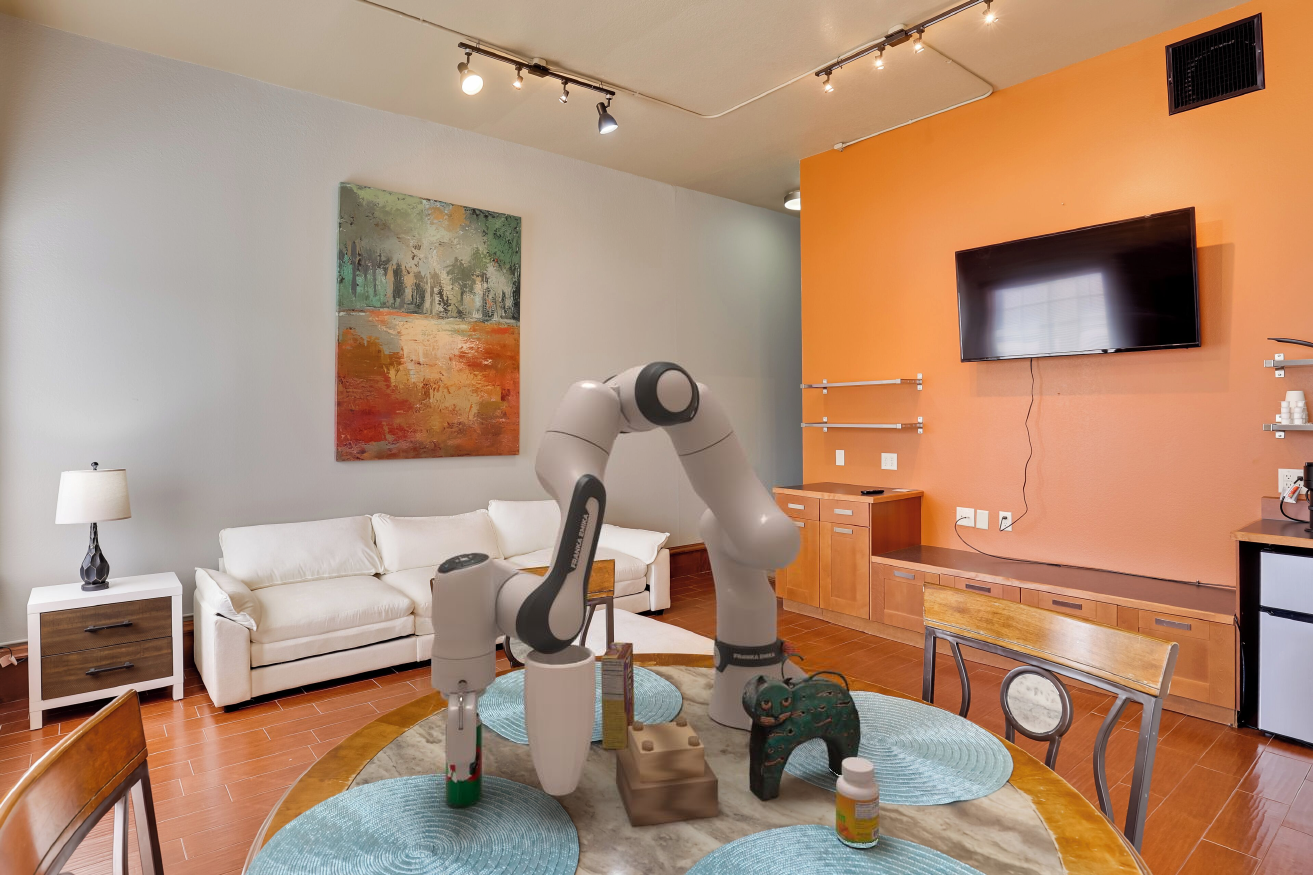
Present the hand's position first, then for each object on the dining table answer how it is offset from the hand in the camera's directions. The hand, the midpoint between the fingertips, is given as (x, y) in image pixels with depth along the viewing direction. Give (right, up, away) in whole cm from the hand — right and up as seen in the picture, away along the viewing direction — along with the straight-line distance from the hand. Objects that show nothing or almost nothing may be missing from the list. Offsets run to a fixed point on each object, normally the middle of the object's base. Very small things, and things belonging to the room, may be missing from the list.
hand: (463, 766), depth 101 cm
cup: (+14, -5, -2) cm, 15 cm away
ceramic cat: (+49, -5, +5) cm, 50 cm away
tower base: (+29, -5, +1) cm, 29 cm away
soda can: (0, -5, 0) cm, 5 cm away
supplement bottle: (+54, -5, -9) cm, 55 cm away
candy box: (+21, -5, +20) cm, 30 cm away
